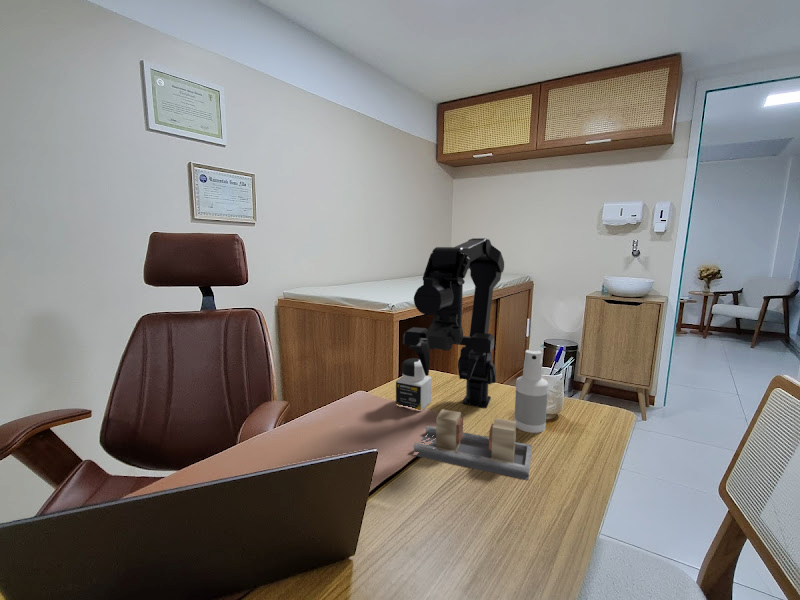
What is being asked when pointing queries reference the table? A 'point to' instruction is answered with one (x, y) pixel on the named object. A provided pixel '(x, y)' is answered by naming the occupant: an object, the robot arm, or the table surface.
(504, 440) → the beige upright rectangular block
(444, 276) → the robot arm
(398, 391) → the medicine bottle
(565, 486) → the table surface
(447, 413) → the beech finger
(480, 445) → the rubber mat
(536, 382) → the spray bottle
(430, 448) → the grey tray
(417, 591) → the table surface
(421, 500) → the table surface
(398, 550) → the table surface
